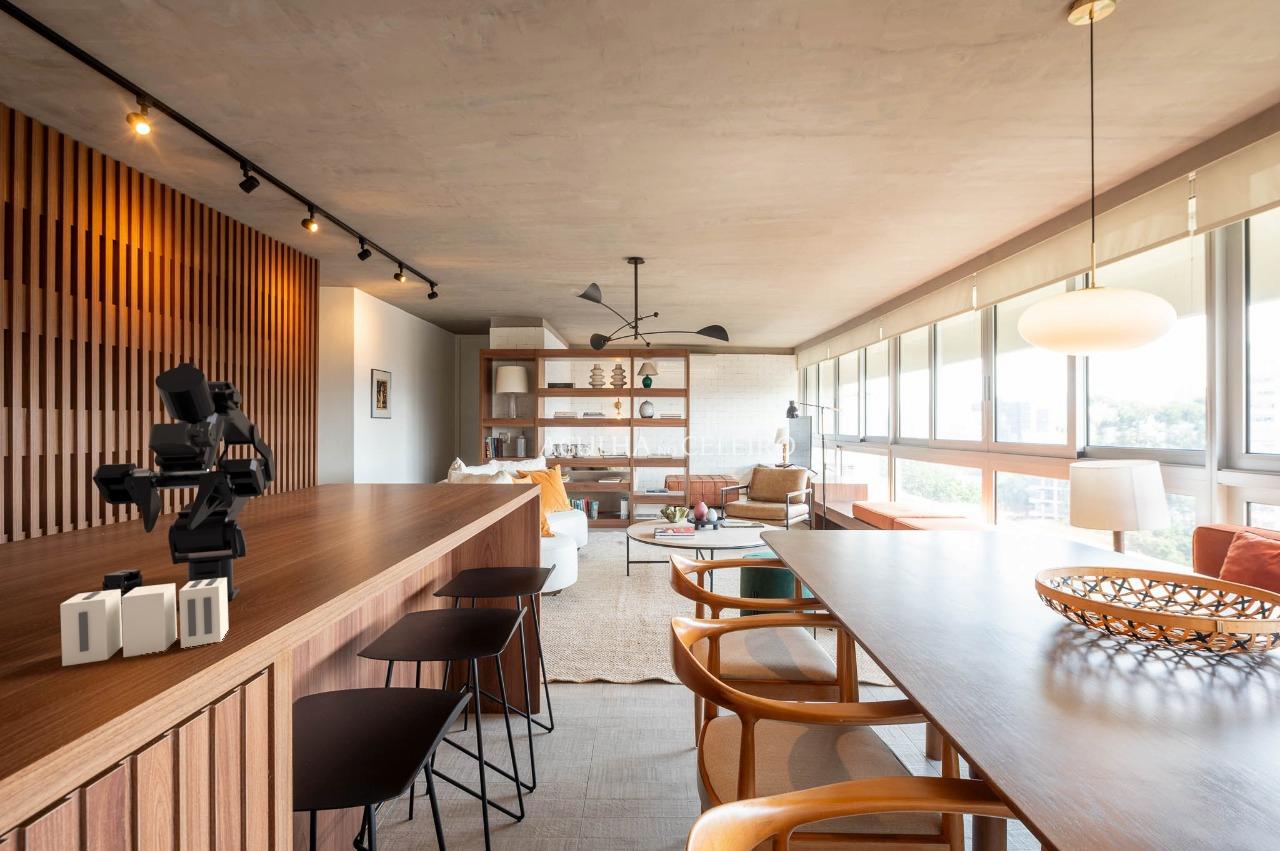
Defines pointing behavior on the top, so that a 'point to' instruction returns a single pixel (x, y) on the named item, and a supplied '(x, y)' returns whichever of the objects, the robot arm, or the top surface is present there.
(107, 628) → the marked block one
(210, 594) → the marked block two
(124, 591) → the black angular block
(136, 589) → the plain block
